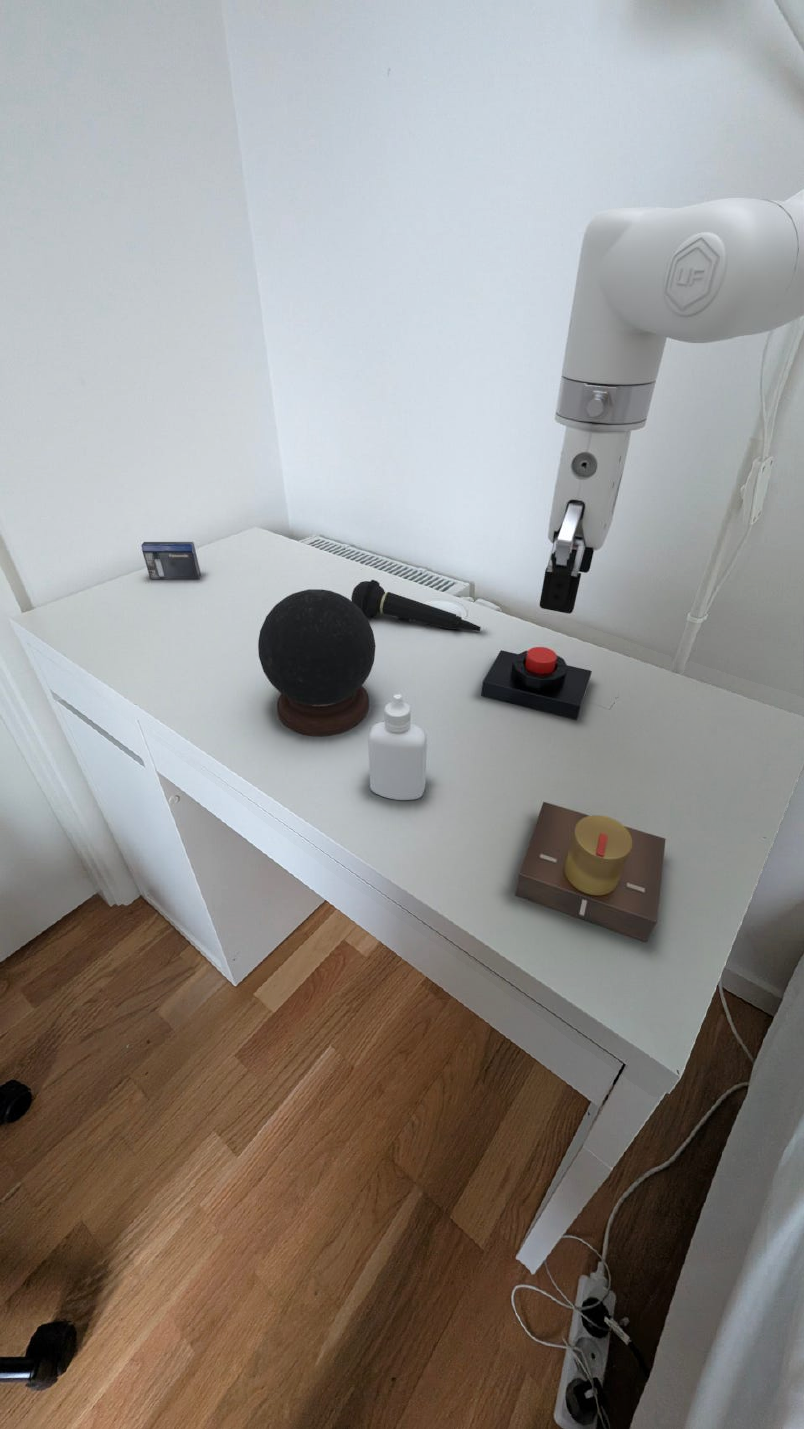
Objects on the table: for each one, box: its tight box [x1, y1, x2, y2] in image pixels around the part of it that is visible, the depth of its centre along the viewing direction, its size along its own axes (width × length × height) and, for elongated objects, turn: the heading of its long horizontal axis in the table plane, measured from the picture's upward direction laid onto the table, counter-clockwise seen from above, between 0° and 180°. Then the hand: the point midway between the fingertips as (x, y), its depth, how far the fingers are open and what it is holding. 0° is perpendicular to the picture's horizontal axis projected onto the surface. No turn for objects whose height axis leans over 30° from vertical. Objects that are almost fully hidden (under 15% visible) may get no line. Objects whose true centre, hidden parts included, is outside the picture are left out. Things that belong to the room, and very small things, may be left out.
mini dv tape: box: [140, 541, 202, 580], centre depth 97 cm, size 8×2×6 cm, turn 90°
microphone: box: [350, 579, 482, 632], centre depth 86 cm, size 6×6×20 cm
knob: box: [564, 814, 632, 895], centre depth 47 cm, size 4×4×5 cm
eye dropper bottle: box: [367, 693, 428, 801], centre depth 56 cm, size 4×6×12 cm
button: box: [525, 646, 558, 674], centre depth 71 cm, size 4×4×2 cm
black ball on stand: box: [257, 588, 376, 737], centre depth 66 cm, size 13×13×15 cm
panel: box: [514, 801, 667, 943], centre depth 50 cm, size 11×11×3 cm
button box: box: [480, 649, 593, 721], centre depth 73 cm, size 12×8×4 cm, turn 66°
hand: (565, 588), depth 59 cm, fingers open, 9 cm apart
